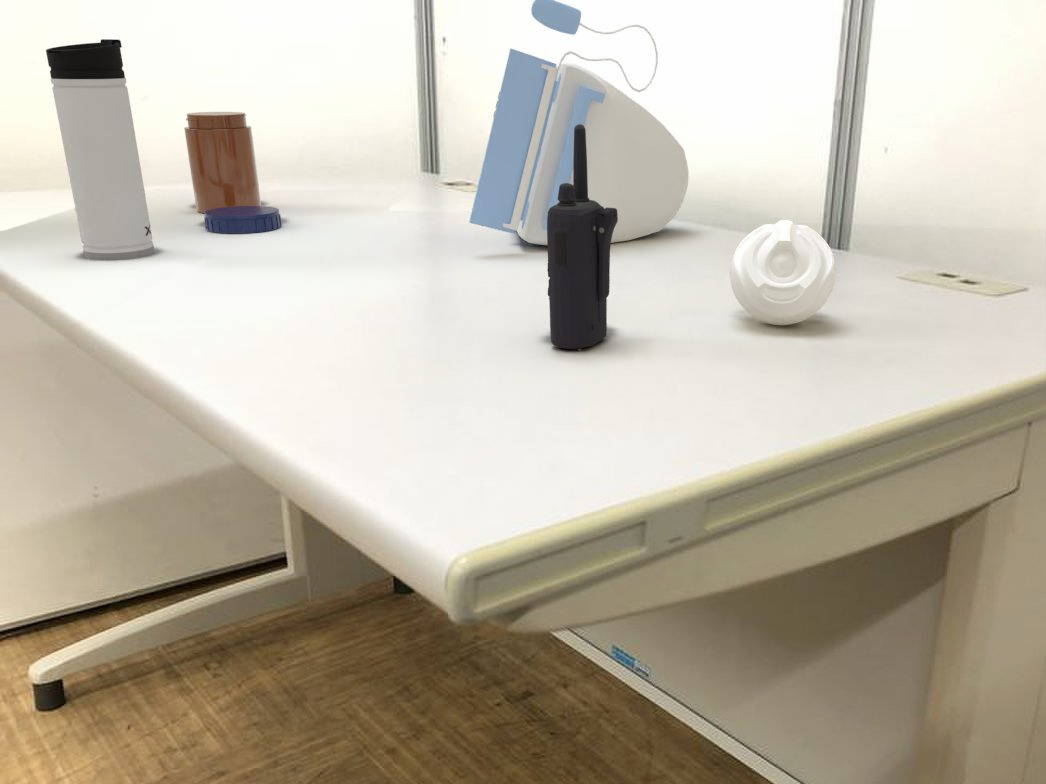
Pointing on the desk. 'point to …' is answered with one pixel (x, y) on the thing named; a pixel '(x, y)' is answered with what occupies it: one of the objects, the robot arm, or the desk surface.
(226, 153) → the jar
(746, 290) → the motion sensor
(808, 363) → the desk surface
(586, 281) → the two-way radio
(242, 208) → the jar lid
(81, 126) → the travel mug
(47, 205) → the desk surface
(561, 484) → the desk surface
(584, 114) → the vintage crt computer
